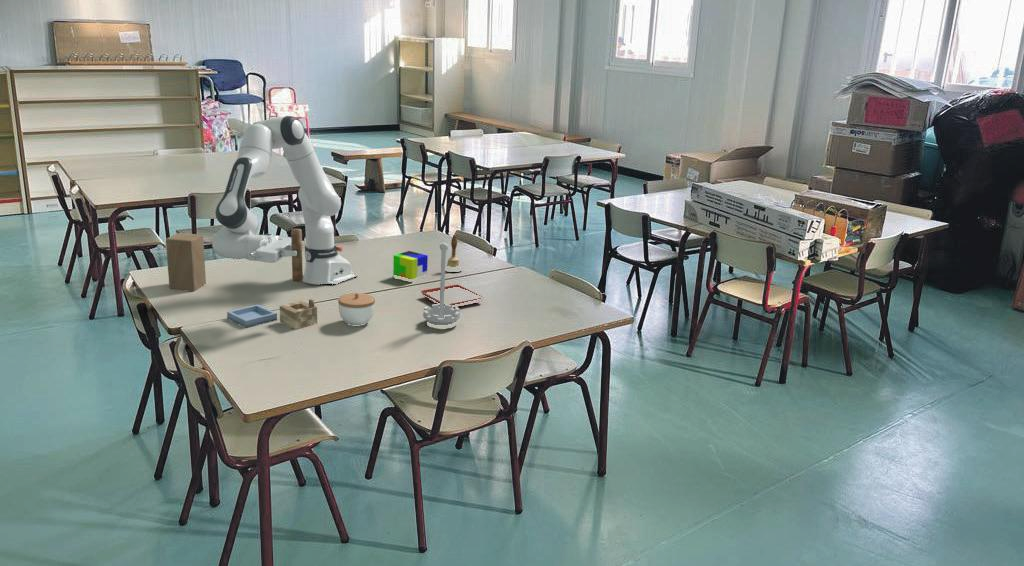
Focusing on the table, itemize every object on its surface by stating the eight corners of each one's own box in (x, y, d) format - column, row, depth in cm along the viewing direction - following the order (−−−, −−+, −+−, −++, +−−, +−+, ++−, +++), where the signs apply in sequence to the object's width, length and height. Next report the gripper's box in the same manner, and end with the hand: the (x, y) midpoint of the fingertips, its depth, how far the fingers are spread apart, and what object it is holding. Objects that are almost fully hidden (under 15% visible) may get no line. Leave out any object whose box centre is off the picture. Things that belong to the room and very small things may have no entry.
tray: (257, 311, 284) (257, 304, 283) (277, 319, 276) (276, 313, 276) (227, 318, 275) (227, 311, 274) (246, 327, 267) (246, 321, 267)
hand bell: (445, 267, 350) (446, 232, 345) (464, 268, 349) (465, 233, 344) (441, 272, 342) (442, 236, 337) (460, 274, 341) (461, 238, 336)
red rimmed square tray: (484, 304, 306) (484, 296, 305) (445, 312, 295) (445, 304, 294) (457, 291, 319) (457, 284, 318) (419, 298, 308) (419, 290, 307)
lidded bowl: (337, 329, 271) (337, 299, 268) (339, 316, 283) (339, 287, 280) (374, 329, 273) (374, 299, 270) (375, 316, 285) (375, 287, 282)
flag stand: (459, 331, 277) (463, 248, 268) (422, 330, 275) (424, 247, 266) (459, 318, 289) (462, 238, 280) (423, 317, 288) (425, 237, 279)
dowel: (298, 278, 273) (297, 227, 267) (304, 280, 271) (303, 229, 265) (290, 280, 270) (289, 229, 265) (296, 282, 268) (295, 231, 263)
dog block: (301, 316, 281) (301, 293, 278) (317, 323, 276) (316, 300, 273) (280, 322, 274) (279, 299, 272) (295, 329, 269) (294, 305, 266)
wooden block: (206, 284, 308) (203, 234, 302) (194, 291, 299) (190, 240, 293) (182, 281, 309) (178, 232, 303) (168, 289, 300) (165, 238, 294)
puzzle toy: (427, 278, 333) (427, 255, 330) (411, 283, 325) (412, 260, 322) (408, 273, 338) (409, 250, 335) (393, 278, 330) (393, 255, 327)
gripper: (246, 246, 257) (288, 250, 256) (270, 232, 277) (309, 235, 276) (247, 265, 259) (288, 268, 258) (271, 249, 279) (309, 252, 278)
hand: (299, 251), depth 267 cm, fingers closed on dowel, 3 cm apart
